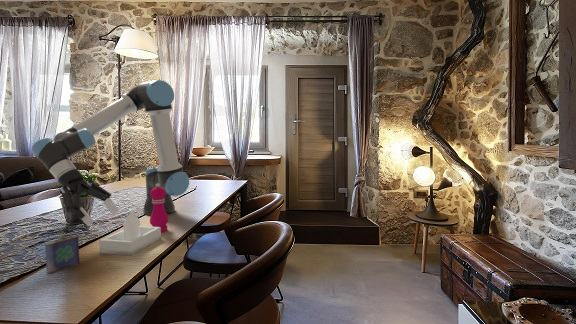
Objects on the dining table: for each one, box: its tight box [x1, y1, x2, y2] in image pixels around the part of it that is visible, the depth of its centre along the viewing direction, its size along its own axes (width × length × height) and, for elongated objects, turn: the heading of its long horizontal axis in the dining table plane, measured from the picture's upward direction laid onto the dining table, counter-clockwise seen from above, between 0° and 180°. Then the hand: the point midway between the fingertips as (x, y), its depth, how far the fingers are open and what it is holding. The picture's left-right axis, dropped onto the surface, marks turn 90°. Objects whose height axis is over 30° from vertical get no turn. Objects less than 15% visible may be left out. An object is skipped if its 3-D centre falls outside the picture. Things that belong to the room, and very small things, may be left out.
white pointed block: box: [122, 209, 141, 241], centre depth 123 cm, size 6×12×6 cm
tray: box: [99, 225, 162, 256], centre depth 123 cm, size 18×12×4 cm, turn 170°
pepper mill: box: [149, 183, 169, 234], centre depth 140 cm, size 7×7×20 cm
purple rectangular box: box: [44, 232, 80, 275], centre depth 103 cm, size 9×3×11 cm, turn 151°
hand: (104, 218), depth 125 cm, fingers open, 13 cm apart
